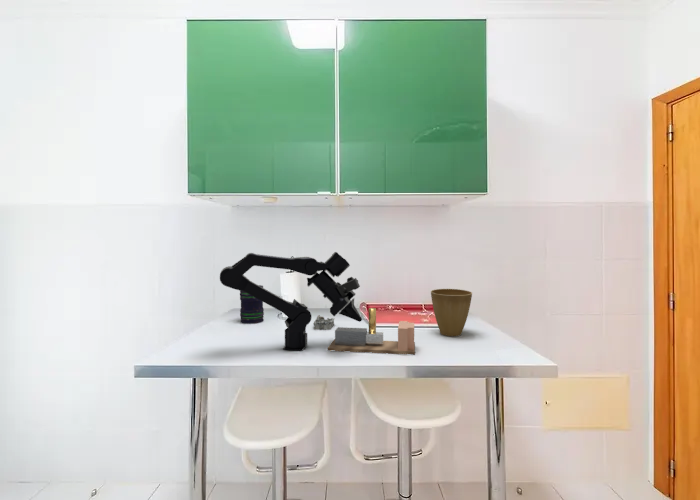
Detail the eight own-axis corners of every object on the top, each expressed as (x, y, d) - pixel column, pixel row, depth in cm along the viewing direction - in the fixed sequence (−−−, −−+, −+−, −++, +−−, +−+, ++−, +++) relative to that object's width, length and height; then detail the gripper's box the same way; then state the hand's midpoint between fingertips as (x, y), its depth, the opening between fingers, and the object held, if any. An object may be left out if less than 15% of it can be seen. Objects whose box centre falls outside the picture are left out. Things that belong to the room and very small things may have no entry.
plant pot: (422, 331, 153) (423, 289, 152) (455, 328, 159) (455, 287, 158) (445, 341, 139) (445, 295, 139) (480, 337, 145) (480, 293, 144)
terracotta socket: (397, 350, 125) (398, 328, 125) (399, 341, 135) (399, 321, 135) (414, 351, 124) (414, 328, 124) (414, 342, 134) (414, 321, 134)
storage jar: (235, 322, 169) (234, 287, 168) (251, 318, 178) (250, 284, 177) (253, 324, 164) (252, 288, 164) (268, 320, 173) (268, 285, 172)
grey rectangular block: (335, 345, 131) (335, 330, 131) (337, 341, 136) (337, 327, 136) (365, 346, 130) (365, 331, 129) (367, 342, 134) (367, 328, 134)
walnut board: (327, 350, 128) (327, 347, 128) (334, 341, 139) (334, 338, 139) (414, 354, 124) (414, 351, 124) (414, 344, 135) (414, 342, 135)
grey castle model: (318, 324, 167) (318, 314, 167) (336, 325, 166) (336, 315, 165) (311, 330, 157) (311, 319, 156) (330, 330, 155) (330, 320, 155)
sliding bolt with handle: (340, 341, 132) (340, 308, 131) (341, 339, 135) (341, 306, 134) (382, 343, 130) (382, 309, 129) (383, 341, 132) (383, 308, 132)
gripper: (340, 272, 123) (375, 309, 122) (349, 267, 141) (380, 299, 140) (315, 297, 124) (350, 334, 123) (327, 289, 143) (358, 320, 142)
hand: (361, 320), depth 132 cm, fingers closed
